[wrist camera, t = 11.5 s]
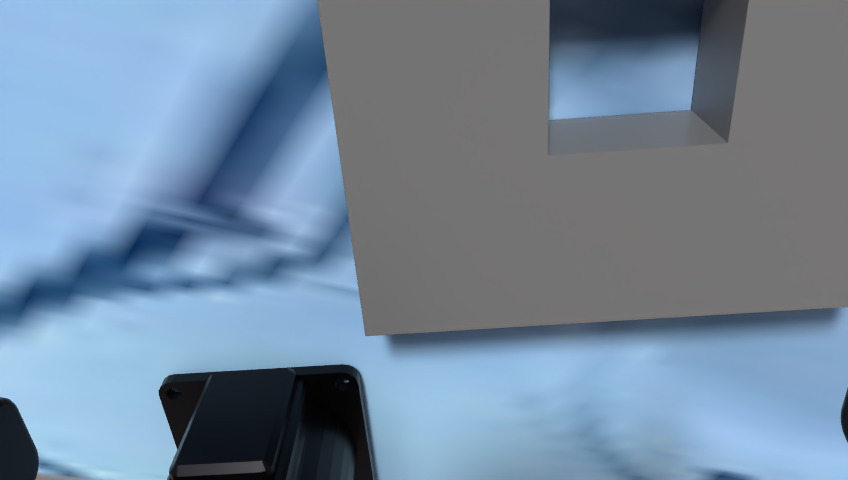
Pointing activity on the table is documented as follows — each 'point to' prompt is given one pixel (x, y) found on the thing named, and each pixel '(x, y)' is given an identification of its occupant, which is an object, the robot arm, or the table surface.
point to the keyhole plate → (586, 170)
